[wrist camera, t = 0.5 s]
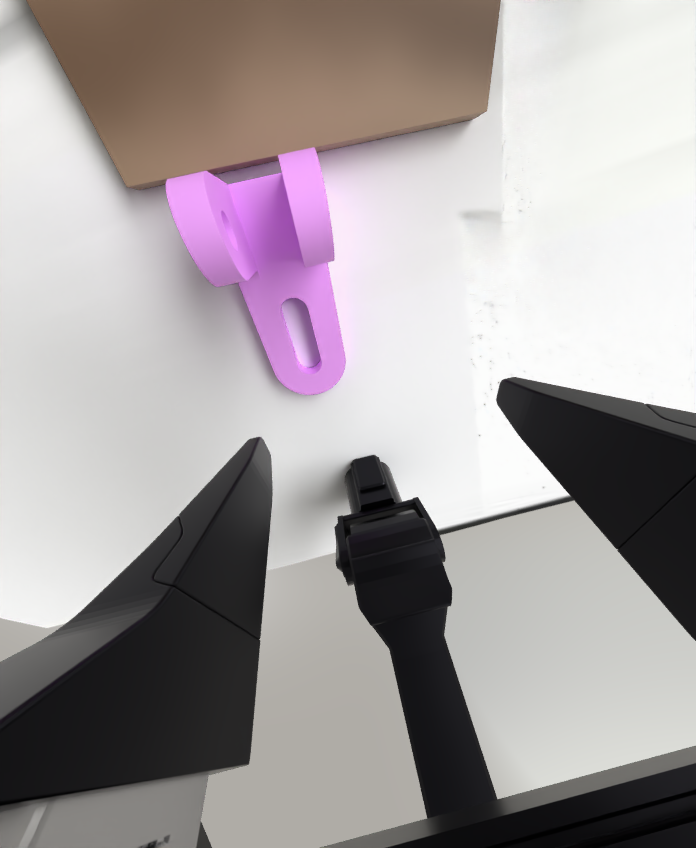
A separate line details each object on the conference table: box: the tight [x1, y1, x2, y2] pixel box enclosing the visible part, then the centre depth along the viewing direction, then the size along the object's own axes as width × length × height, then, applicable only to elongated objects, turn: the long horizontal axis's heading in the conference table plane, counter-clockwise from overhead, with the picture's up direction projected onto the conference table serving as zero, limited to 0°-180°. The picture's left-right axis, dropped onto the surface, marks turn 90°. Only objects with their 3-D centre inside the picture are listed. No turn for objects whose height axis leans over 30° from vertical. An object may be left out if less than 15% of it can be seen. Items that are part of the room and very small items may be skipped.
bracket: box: [166, 147, 346, 395], centre depth 15 cm, size 13×6×7 cm, turn 10°
